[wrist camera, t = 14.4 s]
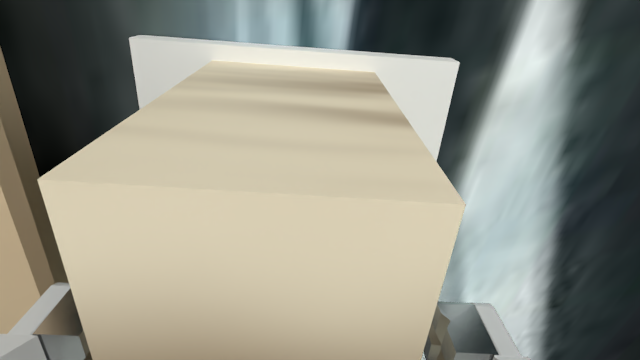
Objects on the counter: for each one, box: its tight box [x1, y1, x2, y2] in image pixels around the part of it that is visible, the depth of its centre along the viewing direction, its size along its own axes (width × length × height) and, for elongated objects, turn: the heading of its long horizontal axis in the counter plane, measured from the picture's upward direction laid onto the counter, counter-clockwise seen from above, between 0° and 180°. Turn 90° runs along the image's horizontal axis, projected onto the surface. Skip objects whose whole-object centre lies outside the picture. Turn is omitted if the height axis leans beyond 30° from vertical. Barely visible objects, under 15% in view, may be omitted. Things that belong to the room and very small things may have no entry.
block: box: [37, 60, 466, 360], centre depth 10 cm, size 11×5×8 cm, turn 176°
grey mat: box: [129, 35, 460, 161], centre depth 14 cm, size 12×10×1 cm
